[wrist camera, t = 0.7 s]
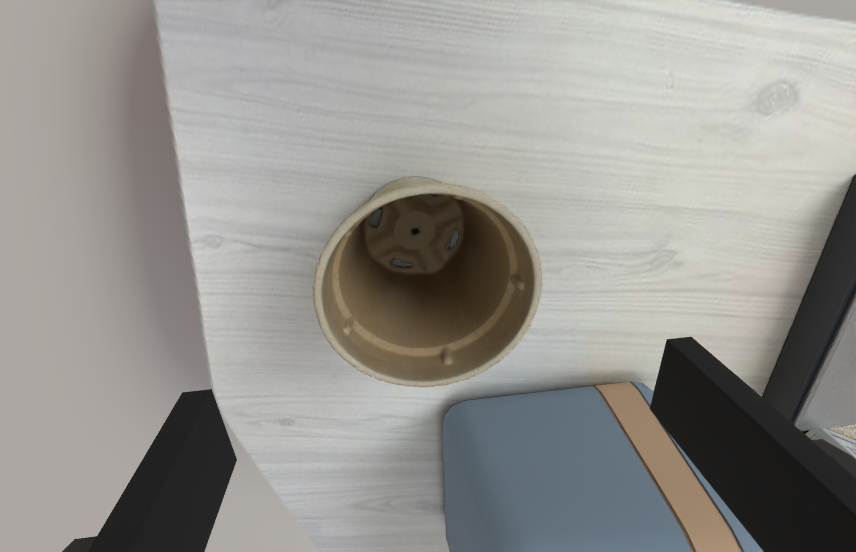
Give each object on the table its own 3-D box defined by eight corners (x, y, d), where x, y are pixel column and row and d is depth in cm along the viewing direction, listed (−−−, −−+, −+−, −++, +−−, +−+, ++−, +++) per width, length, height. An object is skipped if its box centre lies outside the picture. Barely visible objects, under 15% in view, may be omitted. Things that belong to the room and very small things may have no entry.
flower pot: (318, 152, 23) (288, 199, 15) (491, 136, 23) (549, 173, 15) (347, 303, 27) (335, 400, 19) (492, 286, 27) (537, 373, 20)
